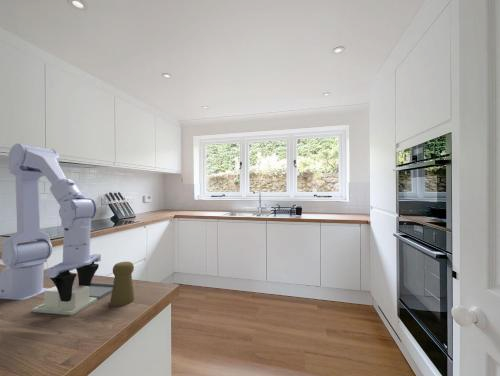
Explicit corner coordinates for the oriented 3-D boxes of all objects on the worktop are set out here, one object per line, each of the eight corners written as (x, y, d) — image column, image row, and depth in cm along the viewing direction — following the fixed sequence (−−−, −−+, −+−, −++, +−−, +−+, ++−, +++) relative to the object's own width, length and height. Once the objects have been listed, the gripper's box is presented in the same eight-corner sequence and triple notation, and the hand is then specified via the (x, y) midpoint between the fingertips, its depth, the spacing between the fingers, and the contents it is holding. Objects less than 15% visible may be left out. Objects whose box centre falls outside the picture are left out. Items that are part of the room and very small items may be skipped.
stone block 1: (43, 308, 60) (44, 290, 60) (59, 300, 64) (59, 284, 64) (58, 309, 59) (58, 291, 60) (72, 302, 64) (73, 285, 64)
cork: (123, 308, 61) (125, 266, 62) (104, 306, 62) (105, 264, 63) (139, 299, 67) (140, 260, 67) (121, 296, 68) (122, 259, 69)
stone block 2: (60, 309, 59) (60, 292, 59) (75, 301, 63) (75, 285, 63) (75, 311, 59) (75, 293, 59) (89, 302, 63) (89, 286, 63)
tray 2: (65, 297, 67) (65, 293, 67) (90, 286, 76) (90, 282, 76) (99, 300, 66) (99, 296, 66) (121, 288, 75) (121, 284, 75)
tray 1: (32, 313, 58) (32, 308, 58) (62, 299, 66) (62, 295, 66) (71, 317, 57) (71, 312, 57) (96, 302, 65) (97, 297, 65)
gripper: (65, 251, 54) (62, 310, 54) (110, 239, 68) (109, 286, 68) (38, 249, 55) (36, 308, 54) (89, 238, 69) (87, 285, 69)
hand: (75, 296), depth 61 cm, fingers open, 5 cm apart
